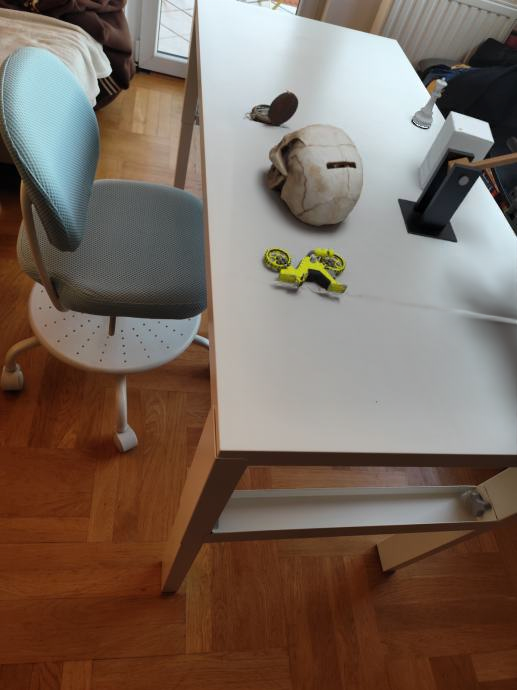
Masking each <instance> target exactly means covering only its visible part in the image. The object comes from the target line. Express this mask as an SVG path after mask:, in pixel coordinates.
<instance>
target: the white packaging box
mask: <svg viewBox="0 0 517 690" xmlns="http://www.w3.org/2000/svg"><path fill="white" fill-rule="evenodd" d="M494 140H495V139H494V138H493V134H492V130H491V128H490V124H489V122H487V121H484V120H481V119H477V118H476V117H475V118H474V117H472V116H469V115H465V114H462V113H458V112H456V111H452V110H451V111H450V112H449V113H448V116H447V117H446V119H445V121H443V124H442V126H441V128H440V129H439V132H438V133H437V135H436V137H435V139H434V141H433V142H432V144H431V146H430V148H429V150H427V153H426V155H425V156H424V159H423V161H422V163H421V164H420V166H419V168H418V179H419V188H420V190H422V191H423V190H424V188H425V187H426V185H427V183H428V181H429V180H430V178H431V176H432V175H433V173H434V171H435V170H436V168H437V166H438V165H439V163H440V161H441V159H442V158H443V156H444V154H445V153H446V151H447V149H448V148H451V149H455V150H460V151H464V152H468V153H473V154H474V156H475V158H474V159H473V161H472V162H476V161H480V160H485V157H486V156H487V154H488V153H489V151H490V150H491V148H492V146H493V145H494V144H495V141H494Z"/></svg>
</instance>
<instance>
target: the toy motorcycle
mask: <svg viewBox="0 0 517 690" xmlns="http://www.w3.org/2000/svg"><path fill="white" fill-rule="evenodd" d="M272 254H275V256H274V255H272ZM313 255H314V256H315V257H314V256H313ZM271 258H272V259H274V261H272V260H271ZM327 258H328V259H327ZM263 260H264V263H266V265H268V267H269V268H271V269H274V270H278V271H279V274H278V277H277V282H283V283H288V284H291V285H294V286H295V287H296V289H295V293H297V292H298V289H300V288H301V287H302V286H303V285H304V283H305V282H315V283H316V284H318V285H319V286H321V287H322V288H323V289H324V290H325V291H329V292H333V293H338V294H344V293H345V292H346V290H347V288H348V286H349V285H348V284H344V283H341V282H339V281H336V278H337V276H336V275H339V274H342V273H344V271H345V269H346V266H347V264H346V261H345V259H344V258H343V256H341V255H340V254H338V253H335V251H334V249H329V248H328V249H327V248H320V247H319V248H315V249H311V250H309V252H308V253H307V254H306V255H305V256H304V257H303V258H302V259H301V260H300V261H299V263H298V265H297V266H296V268H295V267H293V266H292V265H291V264H292V257H291V255H290V253H289V252H287V250H284V248H281V247H272V248H271V247H269V249H267V250H266V251H265V252H264V256H263ZM337 264H340V266H339V265H337ZM334 267H335V268H334Z"/></svg>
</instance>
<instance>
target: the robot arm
mask: <svg viewBox="0 0 517 690" xmlns="http://www.w3.org/2000/svg"><path fill="white" fill-rule="evenodd" d="M508 198H509V200H510V201H511V204H510V206H509V207H508V208H507V209H506V211H505V212H503V216H504V218H505V220H506V221H507V223H508V224H509V227H510V228H511V230H512V231H513V233H514V235H515V237H516V238H517V184H516V185H515V186H514V187H513V189H511V191H510V192H509V194H508Z"/></svg>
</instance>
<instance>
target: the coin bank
mask: <svg viewBox="0 0 517 690" xmlns="http://www.w3.org/2000/svg"><path fill="white" fill-rule="evenodd" d="M268 159H269V161H270V162H271V163H272V164H271V165H270V168H269V170H268V171H267V181H266V184H267V185H268V188H269V189H271V190H274V191H279V192H280V193H281V194H280V198H281V200H283V201H284V202H285V203H286V204H287V207H288V208H289V210H290V212H291V214H292V215H293V216H294V217H295V218H296V219H298V220H299V221H301V222H302V223H305V224H308V225H311V226H315V227H320V226H324V225H326V226H327V225H328V226H329V225H335V224H338V223H340V222H343V221H344V220H345V219H347V218H348V217H349V215H350V214H351V213H352V211H353V210H354V208H355V206H356V205H357V203H358V201H360V197H361V194H362V191H363V185H364V165H363V161H362V157H361V155H360V154H359V151H358V149H357V147H356V144H355V142H354V141H353V140H352V139H351V136H349V135H348V134H347V132H346V131H345V130H344V129H343V128H342V127H341V128H340V127H338V126H336V125H330V124H324V123H323V124H321V123H319V124H308V125H305V126H304V127H301V128H299V129H298V130H294V131H293V132H289V133H286V134H285V135H284V136H283V137H282V138H281V140H280V141H279V142H278V144H276V145H274V146H273V147H271V149H270V150H269V152H268Z"/></svg>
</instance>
